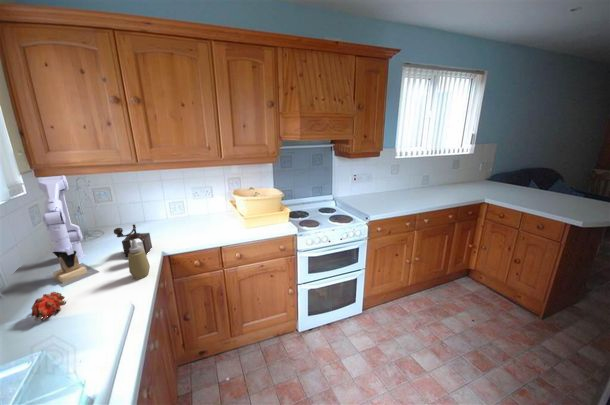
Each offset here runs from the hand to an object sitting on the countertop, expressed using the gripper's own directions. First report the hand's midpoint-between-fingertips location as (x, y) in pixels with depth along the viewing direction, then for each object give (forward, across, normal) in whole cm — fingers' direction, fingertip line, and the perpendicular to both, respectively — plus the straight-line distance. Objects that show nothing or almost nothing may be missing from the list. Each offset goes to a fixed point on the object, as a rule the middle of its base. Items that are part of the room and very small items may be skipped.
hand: (68, 265), depth 118 cm
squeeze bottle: (+6, +28, +16) cm, 33 cm away
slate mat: (+6, -1, +1) cm, 6 cm away
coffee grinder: (+6, +4, +27) cm, 28 cm away
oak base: (+5, 0, 0) cm, 5 cm away
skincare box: (+6, +15, +23) cm, 28 cm away
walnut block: (+2, 0, 0) cm, 2 cm away
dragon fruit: (+6, +25, -15) cm, 30 cm away
